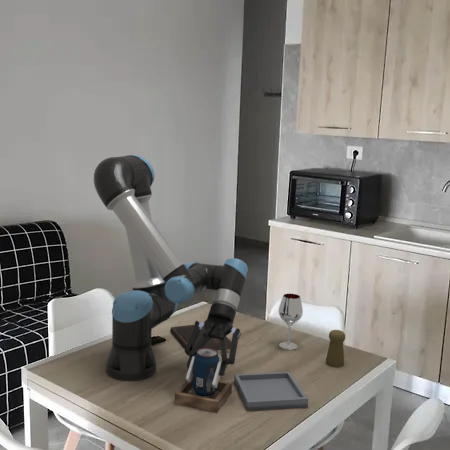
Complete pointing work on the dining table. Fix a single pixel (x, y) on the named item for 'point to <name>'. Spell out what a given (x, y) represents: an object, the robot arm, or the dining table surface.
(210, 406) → the can holder
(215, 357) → the soda can
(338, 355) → the cork
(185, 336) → the hardcover book
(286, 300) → the wineglass
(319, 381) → the dining table surface
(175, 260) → the robot arm
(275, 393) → the tray
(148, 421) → the dining table surface
